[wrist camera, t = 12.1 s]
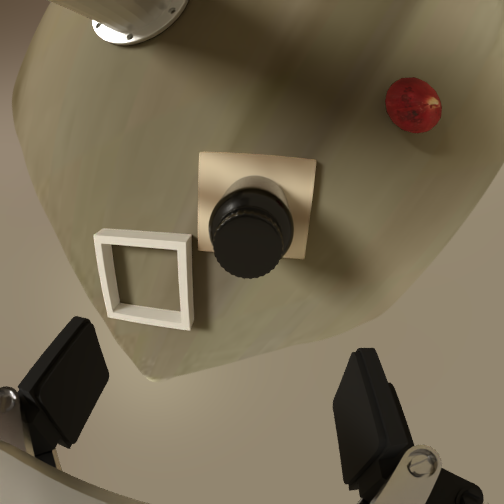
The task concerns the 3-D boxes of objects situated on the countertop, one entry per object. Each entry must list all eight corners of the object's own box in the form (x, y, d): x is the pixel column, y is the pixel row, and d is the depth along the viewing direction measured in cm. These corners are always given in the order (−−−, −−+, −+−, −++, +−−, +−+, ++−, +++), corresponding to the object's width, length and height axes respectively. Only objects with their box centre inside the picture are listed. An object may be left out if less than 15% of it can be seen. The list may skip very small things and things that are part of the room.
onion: (393, 141, 28) (428, 146, 20) (365, 96, 26) (394, 87, 19) (428, 118, 26) (468, 118, 19) (402, 74, 24) (437, 62, 17)
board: (201, 151, 30) (199, 152, 29) (315, 159, 29) (316, 160, 28) (199, 247, 34) (198, 250, 33) (303, 255, 34) (304, 259, 33)
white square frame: (103, 228, 34) (93, 235, 31) (191, 234, 33) (185, 242, 31) (115, 307, 38) (108, 317, 36) (194, 319, 38) (189, 330, 36)
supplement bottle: (287, 236, 32) (296, 293, 21) (225, 236, 32) (201, 293, 21) (288, 173, 29) (299, 198, 18) (221, 174, 29) (192, 200, 18)
